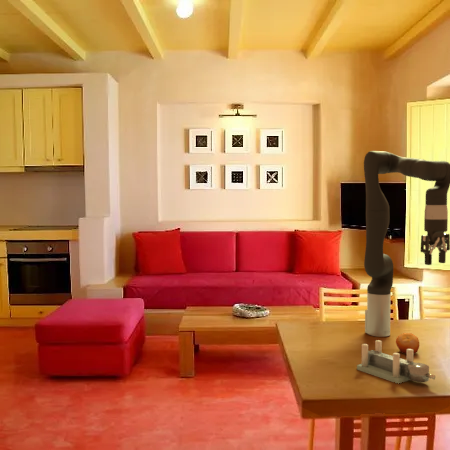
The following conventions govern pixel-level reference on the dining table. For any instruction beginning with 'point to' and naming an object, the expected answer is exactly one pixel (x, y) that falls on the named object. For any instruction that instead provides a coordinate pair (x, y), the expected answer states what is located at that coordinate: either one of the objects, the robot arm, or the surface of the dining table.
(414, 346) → the fruit
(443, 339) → the dining table surface
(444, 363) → the dining table surface
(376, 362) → the ball-topped lever
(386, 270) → the robot arm
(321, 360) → the dining table surface
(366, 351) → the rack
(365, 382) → the dining table surface
